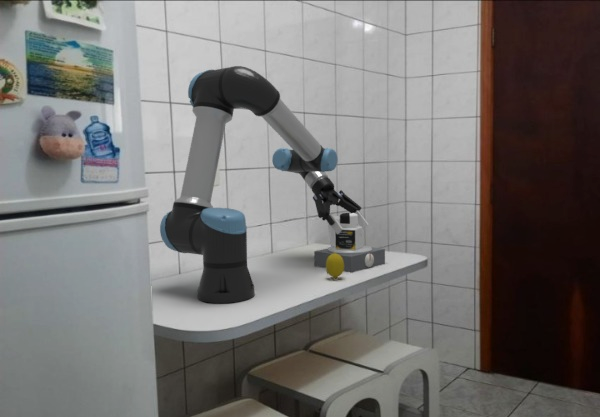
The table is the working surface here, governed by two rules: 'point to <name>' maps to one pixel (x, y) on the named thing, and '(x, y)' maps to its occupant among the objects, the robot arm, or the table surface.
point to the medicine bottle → (349, 233)
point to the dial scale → (352, 257)
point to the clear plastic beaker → (333, 232)
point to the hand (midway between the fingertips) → (353, 229)
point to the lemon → (335, 265)
